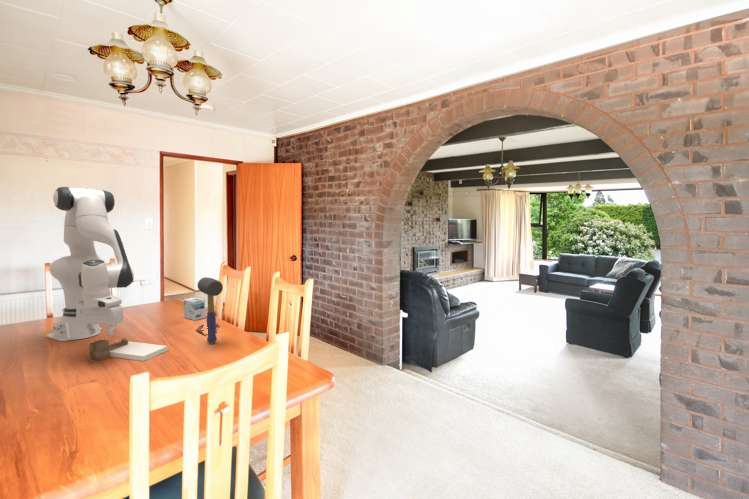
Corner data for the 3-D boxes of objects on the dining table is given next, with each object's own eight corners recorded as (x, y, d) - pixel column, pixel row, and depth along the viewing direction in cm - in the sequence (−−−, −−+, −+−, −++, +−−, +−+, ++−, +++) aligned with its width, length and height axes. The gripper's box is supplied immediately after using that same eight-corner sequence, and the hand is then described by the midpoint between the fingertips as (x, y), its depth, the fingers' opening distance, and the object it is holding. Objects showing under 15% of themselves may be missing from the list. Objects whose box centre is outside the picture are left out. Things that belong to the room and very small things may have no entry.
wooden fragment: (218, 335, 181) (218, 333, 181) (193, 338, 178) (193, 335, 178) (220, 321, 205) (220, 319, 205) (198, 323, 202) (198, 321, 202)
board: (101, 355, 155) (101, 350, 155) (127, 345, 166) (127, 341, 166) (144, 361, 149) (143, 356, 149) (167, 350, 161) (167, 346, 160)
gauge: (90, 360, 149) (89, 343, 149) (123, 348, 163) (122, 332, 162) (98, 361, 148) (96, 344, 148) (130, 348, 162) (129, 333, 161)
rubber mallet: (226, 344, 168) (224, 278, 165) (209, 348, 163) (206, 281, 160) (214, 338, 177) (212, 275, 174) (198, 341, 172) (195, 277, 169)
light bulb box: (206, 318, 210) (205, 299, 209) (194, 320, 205) (194, 301, 204) (194, 315, 216) (194, 296, 215) (183, 317, 210) (182, 299, 209)
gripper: (69, 301, 148) (73, 335, 150) (110, 303, 143) (113, 338, 145) (85, 298, 154) (88, 330, 156) (124, 299, 149) (128, 333, 151)
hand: (101, 334), depth 150 cm, fingers open, 8 cm apart
